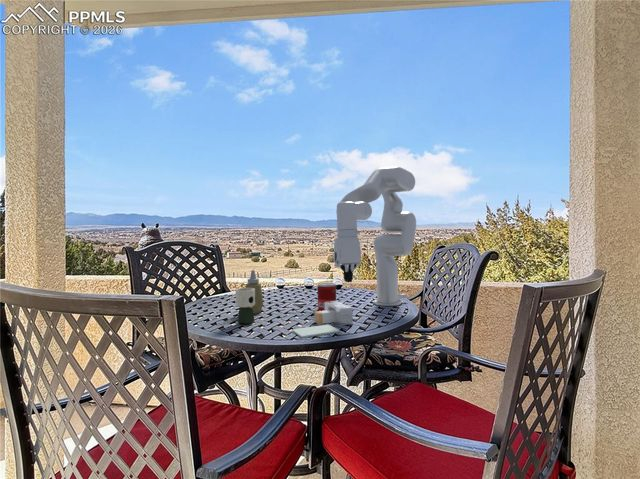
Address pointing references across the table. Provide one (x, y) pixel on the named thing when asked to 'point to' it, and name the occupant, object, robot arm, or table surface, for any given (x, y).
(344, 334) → the table surface
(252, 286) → the squeeze bottle
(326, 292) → the canned food
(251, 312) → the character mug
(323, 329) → the sage mat
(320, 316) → the plug bar
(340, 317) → the housing
